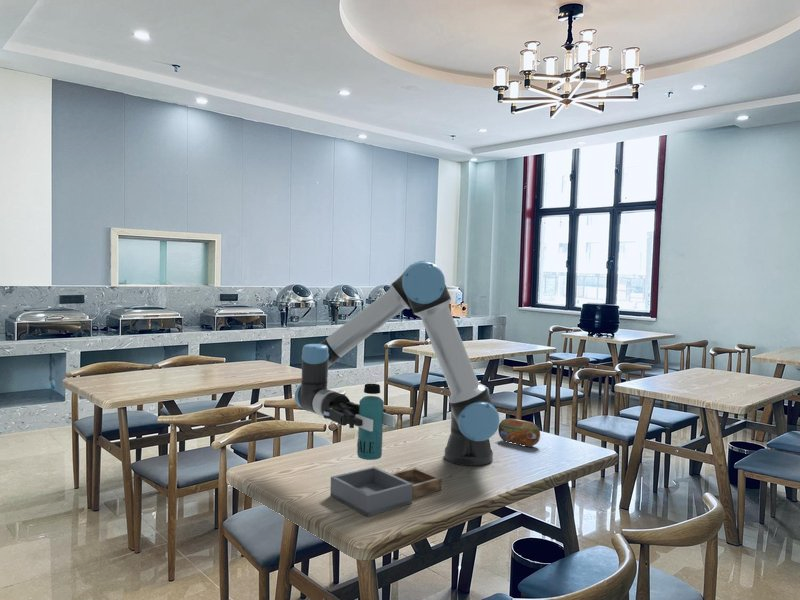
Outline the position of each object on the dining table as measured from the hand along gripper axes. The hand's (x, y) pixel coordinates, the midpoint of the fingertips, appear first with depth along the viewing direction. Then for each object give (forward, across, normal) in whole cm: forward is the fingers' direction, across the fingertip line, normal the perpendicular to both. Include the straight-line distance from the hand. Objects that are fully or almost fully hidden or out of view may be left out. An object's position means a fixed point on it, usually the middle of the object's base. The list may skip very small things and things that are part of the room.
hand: (383, 423), depth 143 cm
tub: (-5, 0, -21) cm, 21 cm away
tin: (-15, -72, -20) cm, 76 cm away
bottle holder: (-5, -14, -20) cm, 26 cm away
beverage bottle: (-5, 0, -11) cm, 12 cm away
